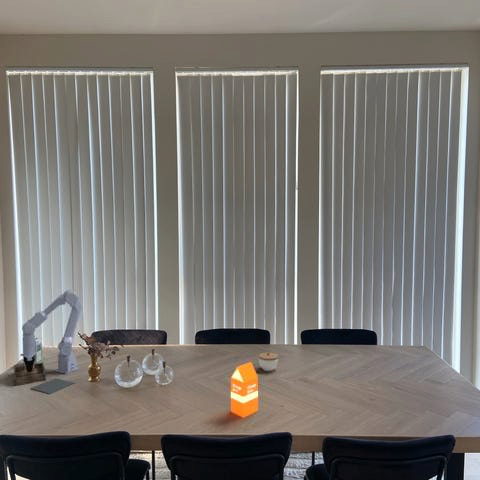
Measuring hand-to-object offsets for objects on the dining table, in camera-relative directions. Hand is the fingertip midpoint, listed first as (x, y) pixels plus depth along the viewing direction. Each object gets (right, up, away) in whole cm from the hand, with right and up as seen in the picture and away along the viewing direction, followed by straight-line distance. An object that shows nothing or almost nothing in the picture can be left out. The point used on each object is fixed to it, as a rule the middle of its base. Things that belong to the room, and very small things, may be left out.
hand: (29, 370), depth 201 cm
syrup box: (-8, -3, +20) cm, 22 cm away
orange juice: (+114, -4, -40) cm, 121 cm away
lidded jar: (+128, -3, +8) cm, 128 cm away
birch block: (0, -1, 0) cm, 1 cm away
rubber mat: (+19, -4, -13) cm, 23 cm away
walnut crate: (0, -3, 0) cm, 3 cm away
